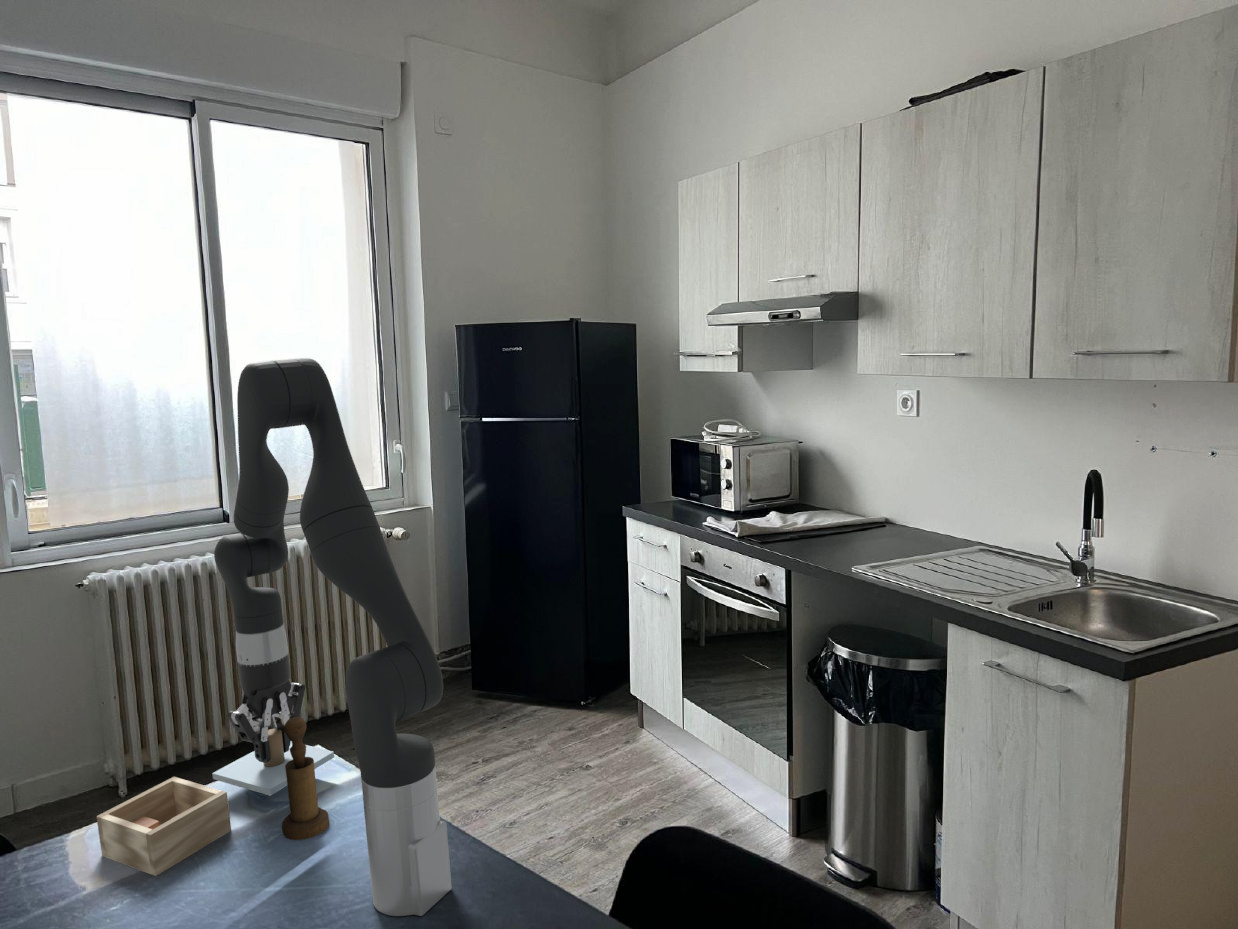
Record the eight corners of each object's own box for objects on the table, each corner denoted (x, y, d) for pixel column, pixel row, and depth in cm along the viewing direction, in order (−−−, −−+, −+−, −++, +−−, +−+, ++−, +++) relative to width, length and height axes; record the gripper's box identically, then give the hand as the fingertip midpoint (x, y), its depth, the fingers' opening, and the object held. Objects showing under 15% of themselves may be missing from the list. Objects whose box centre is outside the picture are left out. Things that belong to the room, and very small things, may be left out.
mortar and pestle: (337, 821, 129) (326, 709, 127) (318, 846, 123) (306, 728, 120) (295, 821, 130) (283, 709, 128) (274, 846, 124) (261, 728, 121)
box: (232, 836, 127) (226, 792, 126) (156, 882, 116) (150, 835, 115) (179, 819, 132) (173, 776, 131) (103, 862, 122) (96, 816, 121)
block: (162, 843, 124) (159, 821, 123) (139, 857, 121) (136, 834, 120) (146, 838, 125) (143, 816, 125) (123, 851, 122) (120, 828, 122)
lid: (334, 757, 141) (330, 723, 140) (270, 795, 130) (266, 758, 129) (278, 743, 147) (275, 710, 146) (213, 779, 136) (208, 743, 135)
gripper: (241, 673, 128) (253, 781, 130) (314, 642, 140) (323, 741, 143) (208, 666, 131) (220, 772, 134) (281, 637, 144) (291, 733, 146)
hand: (273, 755), depth 138 cm, fingers closed on lid, 3 cm apart
